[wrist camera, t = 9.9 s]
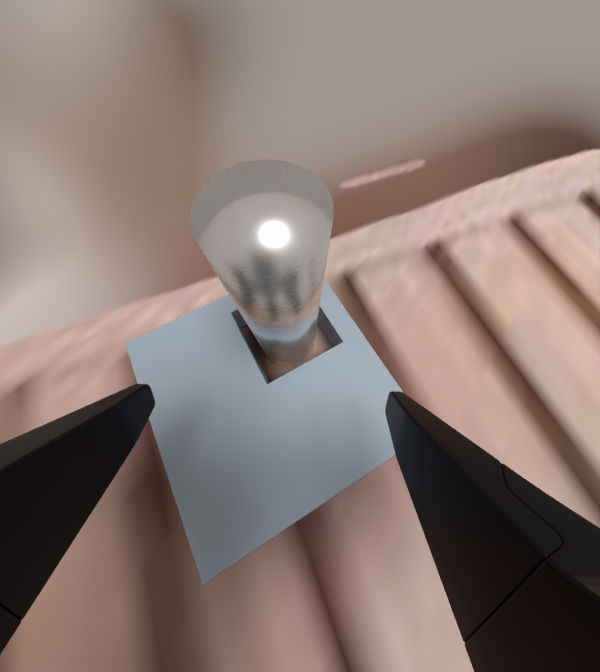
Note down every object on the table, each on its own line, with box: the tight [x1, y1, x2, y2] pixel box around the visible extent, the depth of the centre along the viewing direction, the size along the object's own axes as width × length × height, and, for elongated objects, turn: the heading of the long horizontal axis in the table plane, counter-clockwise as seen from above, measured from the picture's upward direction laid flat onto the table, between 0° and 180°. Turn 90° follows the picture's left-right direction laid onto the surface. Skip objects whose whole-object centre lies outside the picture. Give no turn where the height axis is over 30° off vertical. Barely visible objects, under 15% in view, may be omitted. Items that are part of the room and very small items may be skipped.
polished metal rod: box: [190, 160, 334, 366], centre depth 13 cm, size 4×4×13 cm
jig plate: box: [125, 279, 403, 585], centre depth 17 cm, size 15×15×3 cm
